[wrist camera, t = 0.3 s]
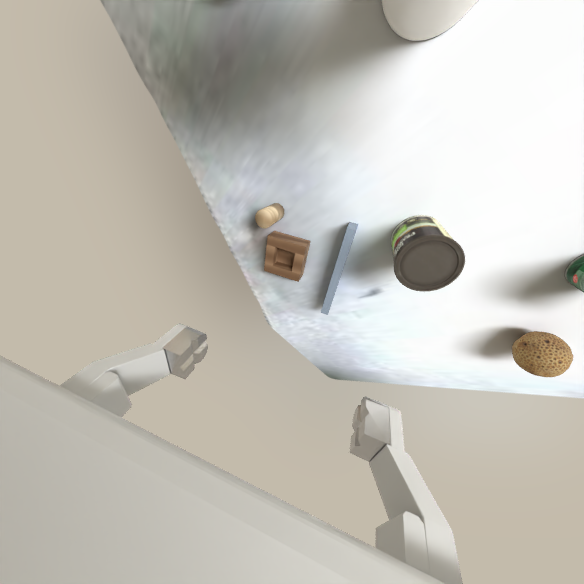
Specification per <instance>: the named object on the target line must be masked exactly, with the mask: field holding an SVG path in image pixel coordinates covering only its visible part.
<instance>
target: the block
mask: <svg viewBox="0 0 584 584" xmlns="http://www.w3.org/2000/svg"><path fill="white" fill-rule="evenodd" d="M309 245H310V241H309V240H305V239H302V238H298V237H295V236H291V235H288V234H284V233H280V232H277V231H274V232H272V233H271V234H270V235H268V237H267V247H266V257H265V266H264V271H267V272H270V273H273V274H276V275H279V276H282V277H285V278H288V279H291V280H295V281H298V282H299V280H300V278H301V277H302V275H303V273H304V268H305V263H306V259H307V254H308V250H309Z"/></svg>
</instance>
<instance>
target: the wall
mask: <svg viewBox="0 0 584 584" xmlns="http://www.w3.org/2000/svg"><path fill="white" fill-rule="evenodd" d="M357 226H358V224H355V223H351V222H349V224H348V227H347V230H346V233H345V236H344V239H343V242H342V246H341V249H340V252H339V255H338V258H337V262H336V265H335V268H334V271H333V274H332V278H331V281H330V284H329V287H328V291H327V294H326V297H325V300H324V303H323V307H322V310H321V313H324V314H327V315H328V312H329V309H330V306H331V304H332V301H333V298H334V295H335V292H336V289H337V286H338V283H339V280H340V277H341V274H342V271H343V268H344V265H345V262H346V259H347V256H348V253H349V250H350V247H351V244H352V241H353V238H354V235H355V233H356V229H357Z"/></svg>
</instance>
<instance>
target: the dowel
mask: <svg viewBox="0 0 584 584" xmlns="http://www.w3.org/2000/svg"><path fill="white" fill-rule="evenodd" d="M283 216H284V208H283V207H282V205H280V204H278V203H274V204H272V205H270V206H268V207H266V208H264V209H261V210H259V211H258V212H257V213H256V216H255V220H256V223H257V224H258V225H259V226H260V227H261V228H268V227H270V226H271V225H273V224H274V223H276V222H277V221H279V220H280V219H281V218H283Z"/></svg>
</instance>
